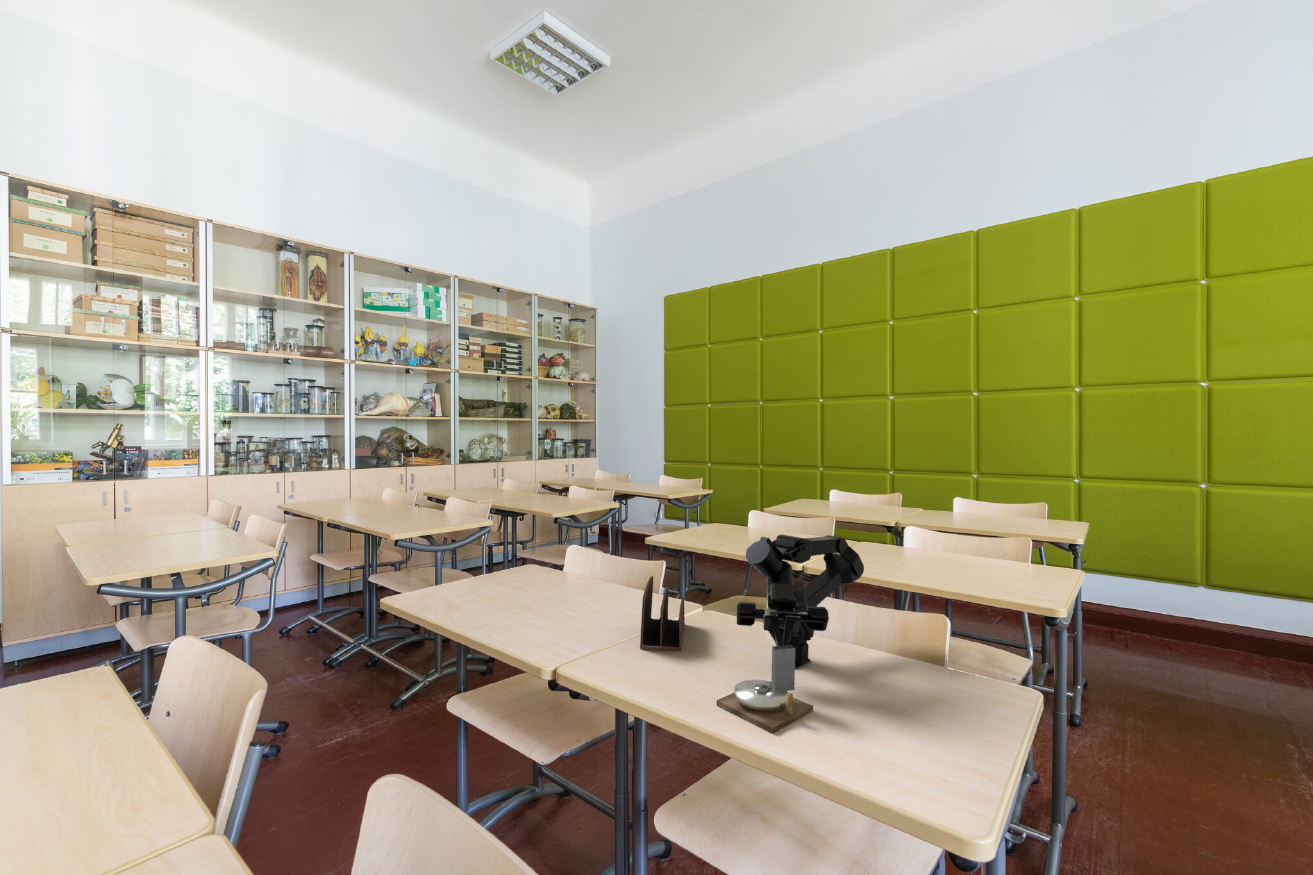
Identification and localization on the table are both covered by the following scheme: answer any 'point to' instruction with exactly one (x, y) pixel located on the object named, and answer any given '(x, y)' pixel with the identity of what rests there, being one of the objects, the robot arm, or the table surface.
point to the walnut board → (767, 712)
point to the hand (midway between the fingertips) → (783, 655)
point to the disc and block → (770, 683)
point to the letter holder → (660, 624)
